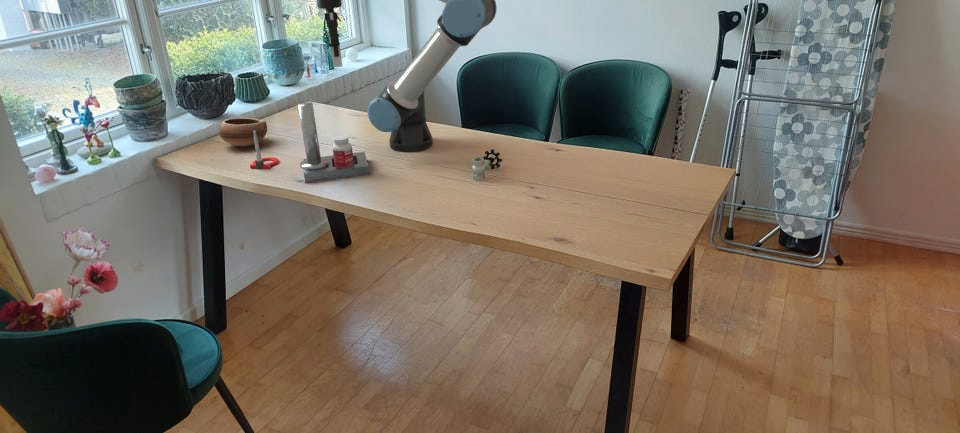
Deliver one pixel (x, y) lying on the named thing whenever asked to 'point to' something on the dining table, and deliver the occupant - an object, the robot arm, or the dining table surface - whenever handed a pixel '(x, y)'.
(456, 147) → the dining table surface
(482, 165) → the valve
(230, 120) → the bowl
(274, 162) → the tow hook
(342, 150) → the pill bottle
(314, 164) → the rosette post
